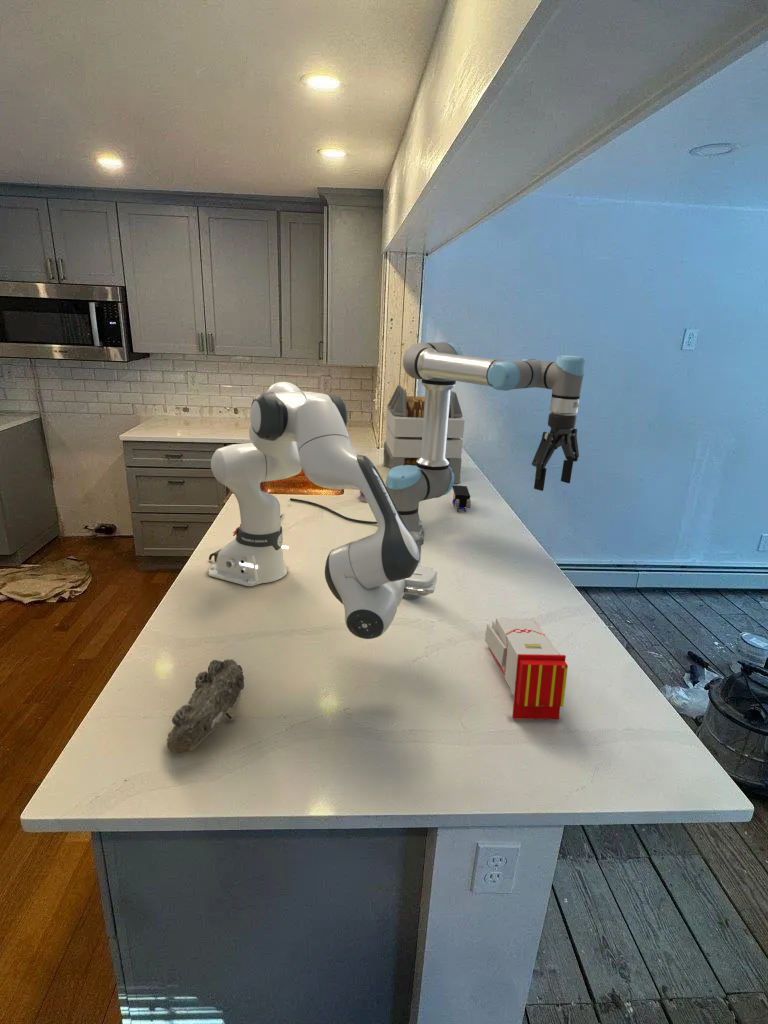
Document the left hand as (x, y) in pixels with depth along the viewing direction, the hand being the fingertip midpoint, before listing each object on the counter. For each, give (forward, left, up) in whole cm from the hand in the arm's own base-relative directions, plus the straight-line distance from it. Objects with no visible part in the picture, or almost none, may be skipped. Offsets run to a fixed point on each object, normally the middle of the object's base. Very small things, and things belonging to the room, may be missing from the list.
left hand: (397, 561), depth 131 cm
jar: (0, +22, -20) cm, 29 cm away
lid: (0, +22, -2) cm, 22 cm away
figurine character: (+6, +101, -20) cm, 103 cm away
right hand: (+36, +48, +8) cm, 61 cm away
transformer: (-18, +145, -20) cm, 147 cm away
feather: (-56, +66, -20) cm, 89 cm away
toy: (+30, -9, -20) cm, 37 cm away
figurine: (-31, +98, -20) cm, 105 cm away
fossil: (-27, -38, -20) cm, 51 cm away
